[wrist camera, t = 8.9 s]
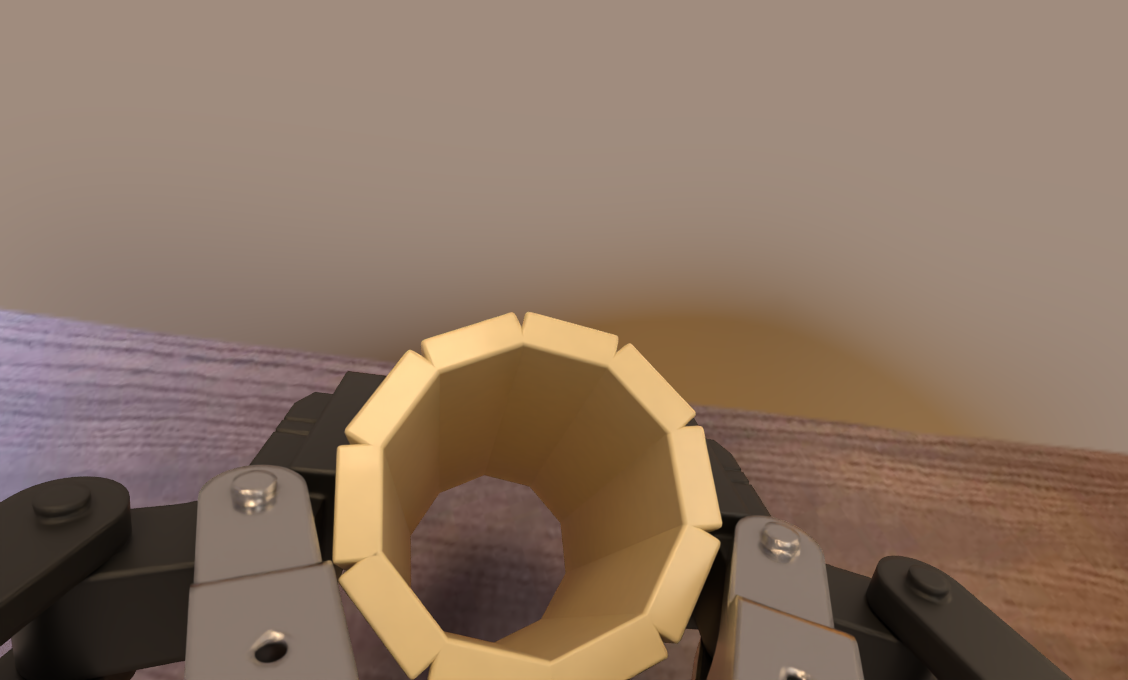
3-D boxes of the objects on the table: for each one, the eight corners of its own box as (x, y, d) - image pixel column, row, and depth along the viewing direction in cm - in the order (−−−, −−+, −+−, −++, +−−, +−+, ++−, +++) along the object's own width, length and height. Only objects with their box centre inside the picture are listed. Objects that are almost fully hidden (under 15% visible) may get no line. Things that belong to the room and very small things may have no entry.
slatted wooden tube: (572, 449, 18) (681, 308, 10) (596, 655, 16) (756, 684, 8) (387, 461, 17) (341, 312, 9) (386, 683, 15) (323, 751, 7)
